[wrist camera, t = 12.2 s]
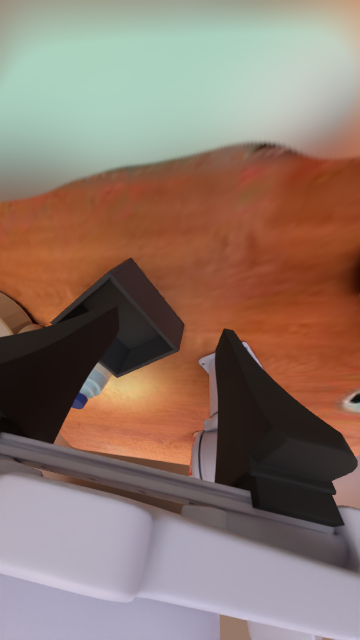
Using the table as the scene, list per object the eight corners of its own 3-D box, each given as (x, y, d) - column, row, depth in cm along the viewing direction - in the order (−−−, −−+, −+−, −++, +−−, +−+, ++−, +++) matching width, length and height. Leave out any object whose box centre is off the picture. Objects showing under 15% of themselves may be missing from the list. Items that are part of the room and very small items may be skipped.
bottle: (124, 360, 29) (98, 409, 22) (108, 369, 31) (78, 416, 24) (104, 342, 27) (68, 389, 20) (88, 352, 29) (49, 398, 22)
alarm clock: (-56, 275, 21) (38, 358, 23) (-8, 269, 25) (68, 340, 28) (-59, 322, 26) (18, 386, 29) (-19, 310, 31) (45, 367, 33)
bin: (184, 324, 24) (179, 351, 19) (131, 351, 28) (117, 378, 24) (131, 257, 20) (108, 271, 15) (78, 301, 24) (49, 322, 20)
